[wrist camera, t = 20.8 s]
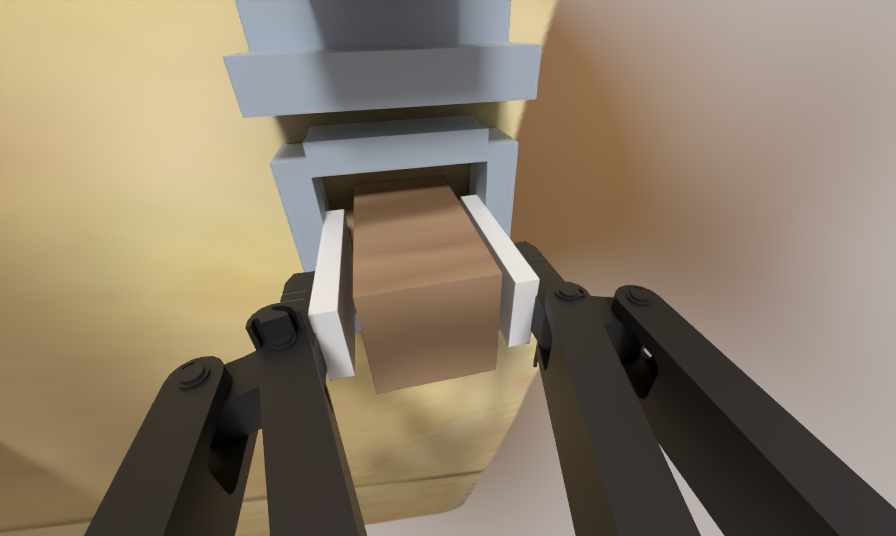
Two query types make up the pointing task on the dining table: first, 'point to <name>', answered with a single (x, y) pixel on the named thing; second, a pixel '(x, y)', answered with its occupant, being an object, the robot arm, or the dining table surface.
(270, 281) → the dining table surface
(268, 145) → the dining table surface
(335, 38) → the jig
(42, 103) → the dining table surface
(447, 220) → the brown wooden block
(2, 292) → the dining table surface
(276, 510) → the robot arm
